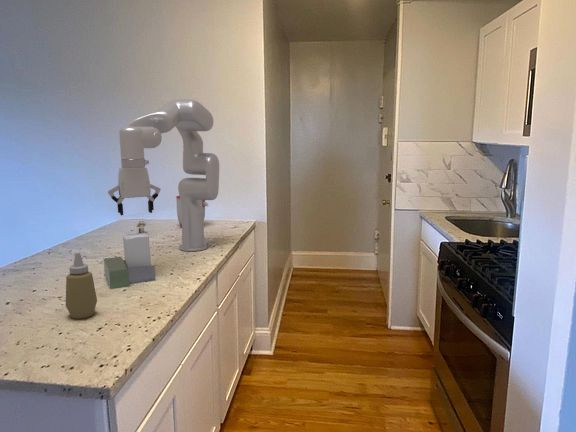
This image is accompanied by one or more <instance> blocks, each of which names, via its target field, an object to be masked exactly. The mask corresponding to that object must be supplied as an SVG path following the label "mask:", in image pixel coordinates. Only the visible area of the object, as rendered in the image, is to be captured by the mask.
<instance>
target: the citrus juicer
mask: <svg viewBox="0 0 576 432" xmlns="http://www.w3.org/2000/svg"><path fill="white" fill-rule="evenodd" d="M175 198H176V213H177V214H176V215H177V220H178V221H177V222H178V224H179V226H180V228H182V216H181V201H180V196H179V195H177V196H175ZM199 202H200V203H201V205H202V207H203V219H204V220H205V217H206V216H205V215H206V207H209V202H206V200H199Z"/></svg>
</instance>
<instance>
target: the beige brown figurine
mask: <svg viewBox="0 0 576 432" xmlns="http://www.w3.org/2000/svg"><path fill="white" fill-rule="evenodd" d="M146 226H147V223H144V221H142V220H140V221H139V222H138V223H137V224H136V227H135V228H136V229H138V234H139V233H145V227H146Z"/></svg>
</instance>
